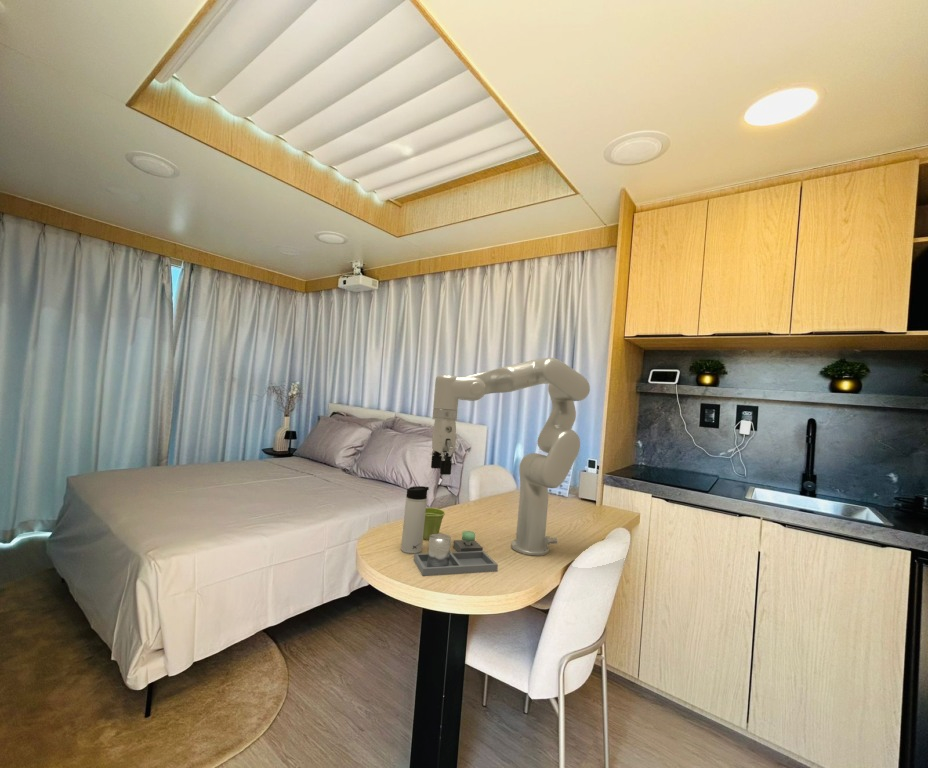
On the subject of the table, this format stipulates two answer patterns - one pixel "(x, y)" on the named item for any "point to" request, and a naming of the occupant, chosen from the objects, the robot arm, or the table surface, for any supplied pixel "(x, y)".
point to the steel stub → (438, 550)
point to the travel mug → (414, 520)
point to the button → (468, 537)
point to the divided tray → (458, 564)
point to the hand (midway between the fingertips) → (440, 471)
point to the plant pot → (432, 522)
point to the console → (466, 546)
